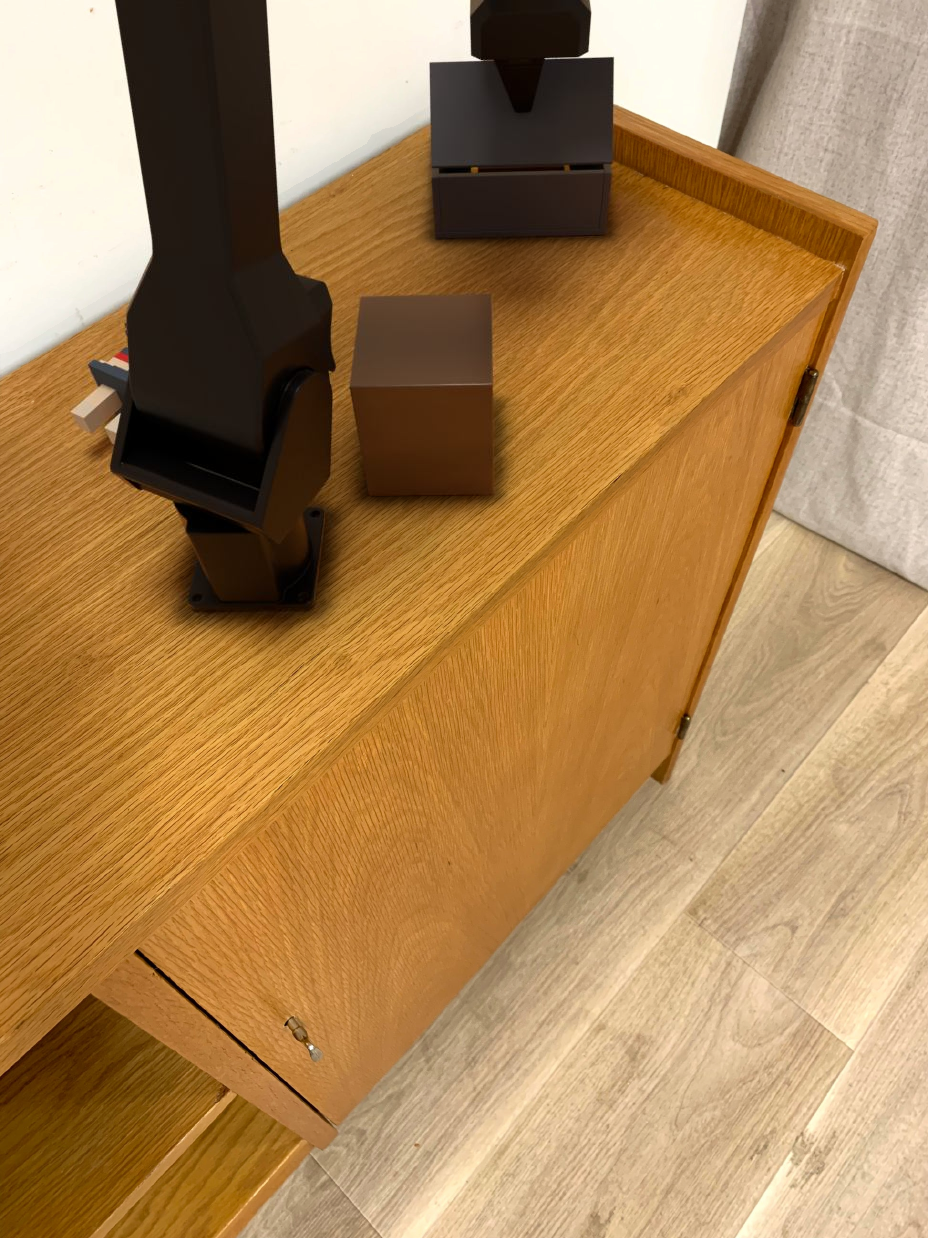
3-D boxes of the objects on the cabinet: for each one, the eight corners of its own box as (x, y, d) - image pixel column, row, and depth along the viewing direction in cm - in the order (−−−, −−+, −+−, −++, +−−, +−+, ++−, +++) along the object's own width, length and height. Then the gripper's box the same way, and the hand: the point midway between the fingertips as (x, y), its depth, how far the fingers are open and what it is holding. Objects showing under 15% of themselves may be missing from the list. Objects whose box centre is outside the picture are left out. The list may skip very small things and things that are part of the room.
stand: (493, 494, 50) (492, 384, 43) (369, 496, 50) (348, 386, 43) (493, 406, 53) (492, 292, 47) (377, 408, 54) (359, 295, 47)
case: (605, 234, 63) (613, 161, 58) (435, 238, 63) (430, 165, 59) (592, 135, 70) (599, 63, 65) (440, 139, 70) (436, 68, 66)
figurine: (28, 380, 50) (200, 237, 57) (59, 434, 53) (218, 294, 60) (145, 434, 47) (312, 278, 54) (170, 488, 51) (323, 335, 58)
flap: (611, 163, 58) (612, 161, 58) (431, 168, 59) (431, 166, 58) (613, 59, 57) (614, 56, 57) (429, 64, 58) (429, 61, 57)
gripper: (718, -149, 39) (664, 189, 52) (670, -272, 49) (634, 36, 62) (465, -139, 40) (474, 193, 53) (469, -263, 50) (476, 41, 63)
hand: (522, 109), depth 58 cm, fingers closed
